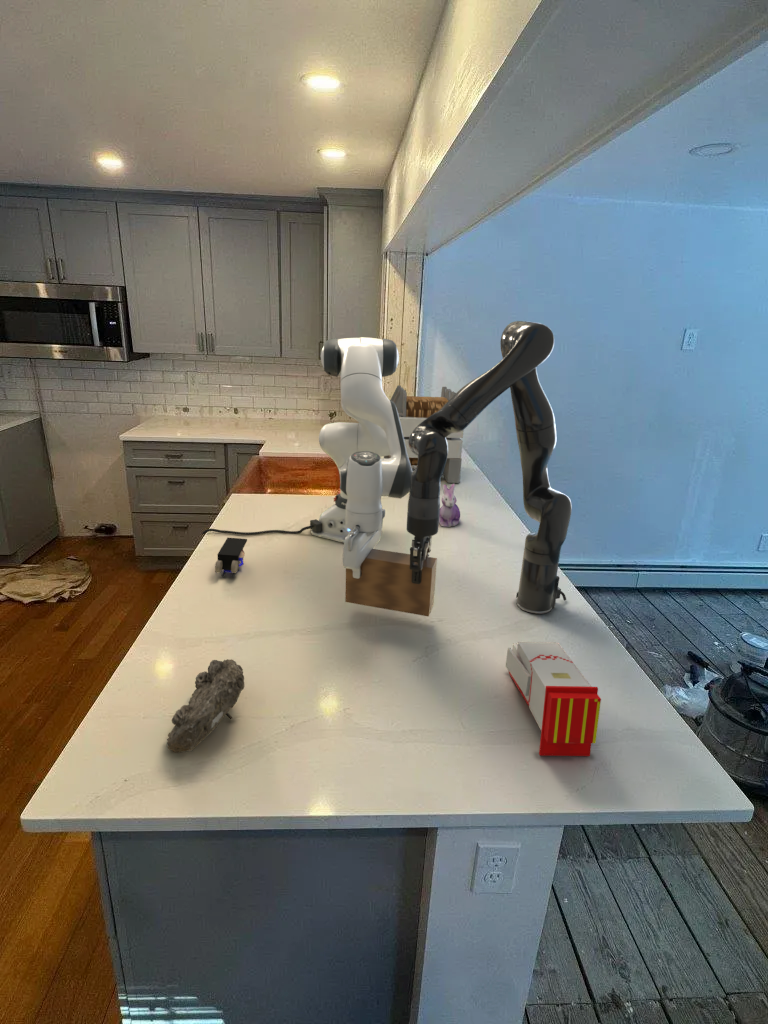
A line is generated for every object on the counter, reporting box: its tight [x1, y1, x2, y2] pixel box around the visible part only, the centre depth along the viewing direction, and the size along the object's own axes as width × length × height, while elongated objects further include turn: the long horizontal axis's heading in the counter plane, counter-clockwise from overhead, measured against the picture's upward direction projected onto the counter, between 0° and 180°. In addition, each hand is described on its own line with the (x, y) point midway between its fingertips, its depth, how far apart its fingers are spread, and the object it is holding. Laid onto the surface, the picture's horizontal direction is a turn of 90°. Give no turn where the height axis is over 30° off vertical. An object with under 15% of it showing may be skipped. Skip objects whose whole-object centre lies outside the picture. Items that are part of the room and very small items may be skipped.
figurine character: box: [214, 537, 248, 578], centre depth 166 cm, size 7×8×15 cm
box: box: [344, 548, 438, 618], centre depth 141 cm, size 22×6×13 cm, turn 74°
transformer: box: [383, 384, 465, 484], centre depth 268 cm, size 34×33×41 cm
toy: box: [505, 641, 602, 757], centre depth 113 cm, size 12×13×30 cm
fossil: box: [166, 658, 245, 754], centre depth 106 cm, size 22×10×15 cm
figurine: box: [439, 483, 461, 528], centre depth 209 cm, size 9×10×15 cm
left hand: (361, 570), depth 142 cm, fingers closed on box, 6 cm apart
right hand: (419, 576), depth 138 cm, fingers closed on box, 6 cm apart
